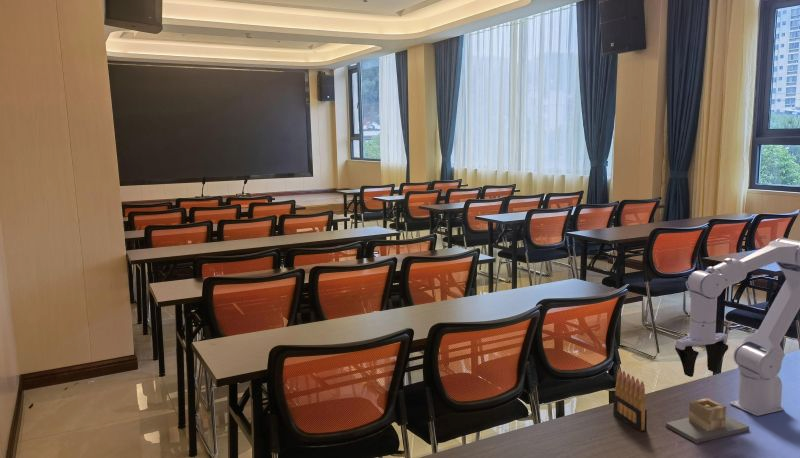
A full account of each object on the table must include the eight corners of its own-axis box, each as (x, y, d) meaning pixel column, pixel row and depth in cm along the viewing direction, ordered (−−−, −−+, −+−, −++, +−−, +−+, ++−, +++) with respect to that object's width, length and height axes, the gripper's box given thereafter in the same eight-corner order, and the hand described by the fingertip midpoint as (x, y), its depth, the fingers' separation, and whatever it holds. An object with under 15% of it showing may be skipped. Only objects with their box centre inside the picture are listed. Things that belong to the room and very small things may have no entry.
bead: (706, 417, 144) (706, 397, 144) (725, 427, 139) (726, 406, 139) (688, 421, 143) (689, 401, 142) (707, 431, 137) (708, 410, 137)
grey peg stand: (716, 415, 148) (717, 392, 147) (748, 430, 139) (750, 406, 139) (665, 426, 142) (666, 403, 142) (696, 443, 134) (697, 418, 133)
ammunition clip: (646, 430, 141) (648, 382, 139) (640, 431, 140) (641, 383, 139) (619, 412, 151) (620, 366, 149) (613, 413, 151) (613, 367, 149)
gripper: (711, 312, 152) (709, 363, 154) (667, 319, 147) (665, 372, 149) (735, 319, 146) (733, 373, 147) (689, 326, 141) (687, 381, 143)
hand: (700, 373), depth 148 cm, fingers open, 7 cm apart
